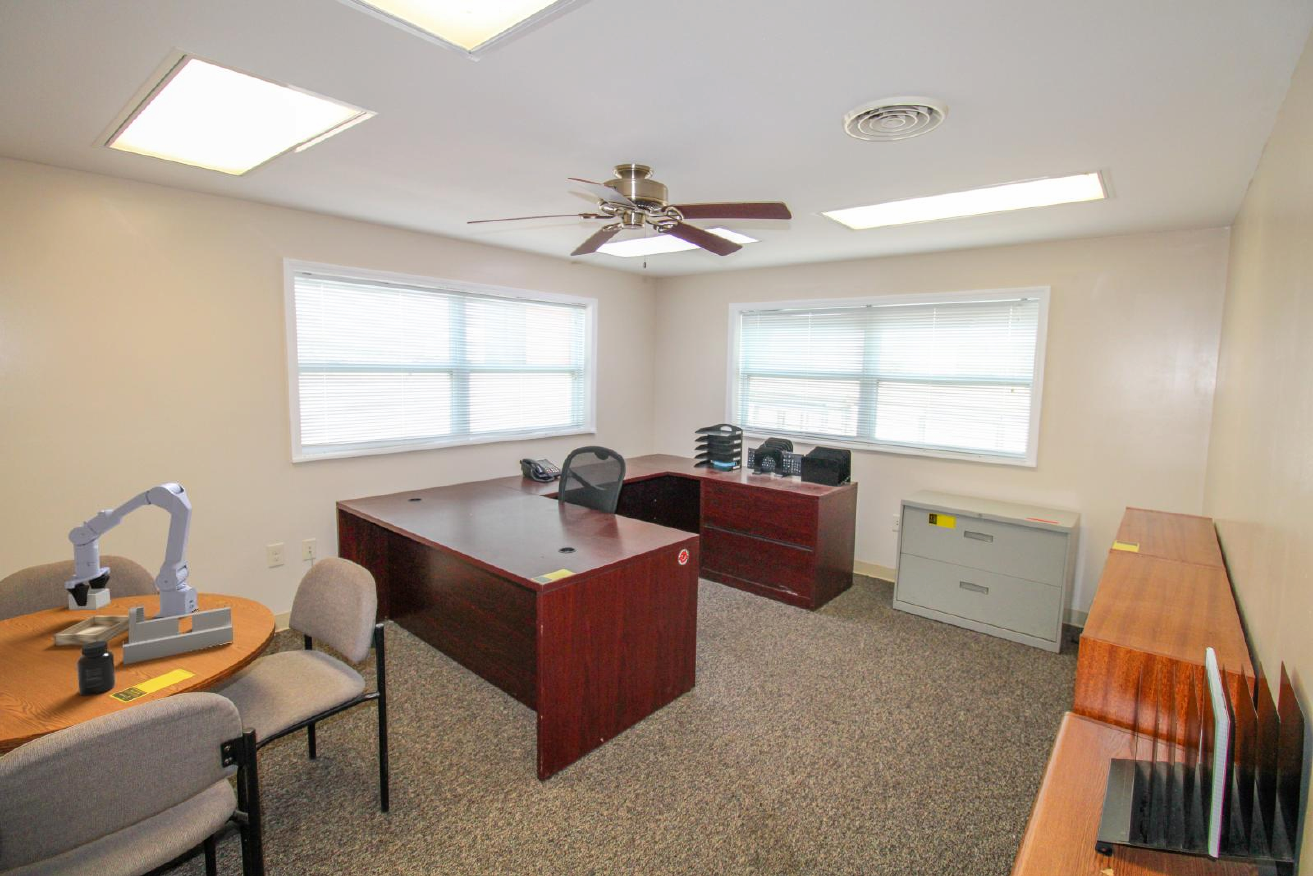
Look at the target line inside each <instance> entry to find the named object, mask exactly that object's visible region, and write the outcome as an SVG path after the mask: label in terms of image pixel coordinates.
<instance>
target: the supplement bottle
mask: <svg viewBox="0 0 1313 876" xmlns="http://www.w3.org/2000/svg"><path fill="white" fill-rule="evenodd" d="M76 666H77V679H78V680H77V681H78V691H79V694H80V695H83V696H93V695H100V694H103V693H105V692H107V691H109V690H112V688H113V687H114V686H115V684H116V672H115V656H114V653H113V652H112V651H110V650H109V646H108V641H97V642H92V643H88V644H86V645H82V646H81V657H79V658H78V660H77V661H76Z"/></svg>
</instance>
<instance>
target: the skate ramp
mask: <svg viewBox="0 0 1313 876" xmlns="http://www.w3.org/2000/svg"><path fill="white" fill-rule="evenodd" d="M141 603H142V604H141ZM141 603H140V605H139V606H136V605H137V602H136V603H134V604H133V607H131V604H129V611H128V616H129V629H128V643H126V641H125V642H124V641H123V643H122V660H123V665H129V664H132V663H133V664H134V663H139V662H145V661H149V660H153V659H158V658H163V657H169V656H174V655H179V653H180V654H184V653H183V652H185V653H188V652H187V651H190V652H192V651H191V650H195V651H199V650H198V649H200V650H203V649H202V648H205V647H210V646H216V645H220V644H223V643H226V642H231V641H233V642H234V631H233V630H234V628H233V626H234V625H233V622H232V608H231V606H232V605H231V603H229V602H228V604H229V605H228V604H227V606H226V605H225V604H222V606H221V608H220V607H219V605H216V607H219V608H213V609H211V607H208V609H207V610H205V609H206V607H203V608H202V610H203V611H199V609H196V611H195V612H192V611H191V613H190V614H184V615H178V616H172V613H171V617H165V614H164V617H162V616H161V617H158V615H157V617H154V618H153V619H152V616H148V617H147V620H146V614H145V611H146V609H145V602H144V601H143V602H141ZM135 604H136V605H135ZM141 605H143V606H141ZM192 610H193V609H192ZM186 611H187V610H186ZM186 611H185V613H186ZM180 612H181V611H180ZM174 613H175V612H174ZM168 614H169V613H168ZM179 614H180V613H179ZM154 615H155V614H154ZM161 615H162V614H161ZM173 615H174V614H173ZM155 616H156V615H155ZM167 616H168V615H167ZM149 617H150V618H149ZM187 617H191V619H192V620H191V624H192V625H191V627H192V629H191V630H190V632H187V630H186V631H182V632H180V621H179V619H181V618H187ZM148 619H149V620H148ZM229 625H230V626H229ZM216 627H219V628H216ZM186 632H187V633H186ZM180 633H181V634H180ZM124 643H125V644H124ZM216 647H217V646H216ZM205 649H206V648H205Z"/></svg>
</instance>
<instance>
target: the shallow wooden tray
mask: <svg viewBox="0 0 1313 876" xmlns="http://www.w3.org/2000/svg"><path fill="white" fill-rule="evenodd" d="M127 629H128V630H129V615H92V616H90V617H89V618H86V619H84V620H82V621H80V622H78V623H76V624H74V625H72V626H69V627H67V628H66V629H64V630H61V631H60V632H57V633H55V634H53V646H84V645H86V644H88V643H92V642H97V641H106V642H108V641H110V640H111V639H113V638H115V637H116V636H118V634H119V635H120V634H122V633H124V632H125V630H126V631H128V630H127ZM121 632H122V633H121ZM114 636H115V637H114Z"/></svg>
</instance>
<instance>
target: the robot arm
mask: <svg viewBox="0 0 1313 876" xmlns="http://www.w3.org/2000/svg"><path fill="white" fill-rule="evenodd" d="M186 493H187V491H186V488H184V487H183V486H182V485H181V484H180V483H178V482H175V481H166V482H165V483H163V484H160V485H158V486H154V487H152V488H150V489H148V490H145V491H143V492H141V493H139V494H137V495H136V496H134V497H133V498H130V499H129V500H128V501H126V502H124V503H123V504H122V505H120V506H118V507H117V508H115V509H105V510H104V509H102V510H100V511H99V512H96V513H97V515H95V516H94V517H93V518H91V519H85V520H84V521H82V523H83V524H82V525H79V526H75V527H73V529H71V530H70V531H69V533H68V540H69V542H71V543H72V544H73V557H74V560H73V561H74V571H75V574H72V578H71V579H69V580H67V581H65V582H64V588H65V589H66V590H67V592H69V594H72V596H73V597H74V599H75V601H76V603H77V605H78V606H86V604H87V593H88V590H89V589H106V586H107V584H108V582H109V580H110V579H111V576H110V575H108V574H110V573H111V568H110V567H105V566H104V567H100V553H99V552H100V551H99V550H100V549H99V538H100V537H101V536H102V535H104V534H106V533H107V532H109V531H110V530H111V529H113V528H115V527H117V526H118V525H120V524H121V523H122V522H123V517H125V516H127V515H129V514H131V513H132V512H134V511H135V510H138V509H139V508H141V507H143V506H150V505H154V506H156V507H158V508H160V509H162V510H166V512H168V513H169V514H170V522H169V529H168V535H167V543H166V549H165V557H164V561H163V563H162V565H161V567H160V569H159V573H158V574H157V576H156V577H155V580H154V584H155V587H156V588H157V589H158V593H159V597H158V598H159V612H158V613H156V614H153V615H152V618H155V617H156V618H157V615H158V618H166V617H171V613H172V616H178V615H184V614H190V613H192V612H191V611H193V612H195V611H196V610H199V609H200V607H199V606H198V594H197V593H198V591H197V589H196V588H195V587H194V586H193V587H192V586H189V585H188V584H187V581H186V579H188V577H189V575H190V570H189V567H188V560H187V559H185V558H186V552H187V546H188V539H189V533H190V526H191V519H192V512H193V506H192V504H191V502H190V500H189V498H188V496H187V494H186ZM87 582H88V584H84V583H87ZM192 609H193V610H192ZM195 609H196V610H195ZM186 610H187V611H186ZM194 610H195V611H194ZM180 611H181V612H180ZM185 611H186V613H185ZM174 612H175V613H174ZM168 613H169V614H168ZM179 613H180V614H179ZM161 614H162V615H161ZM164 614H165V617H164ZM173 614H174V615H173ZM155 615H156V616H155ZM167 615H168V616H167ZM161 616H162V617H161Z"/></svg>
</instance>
